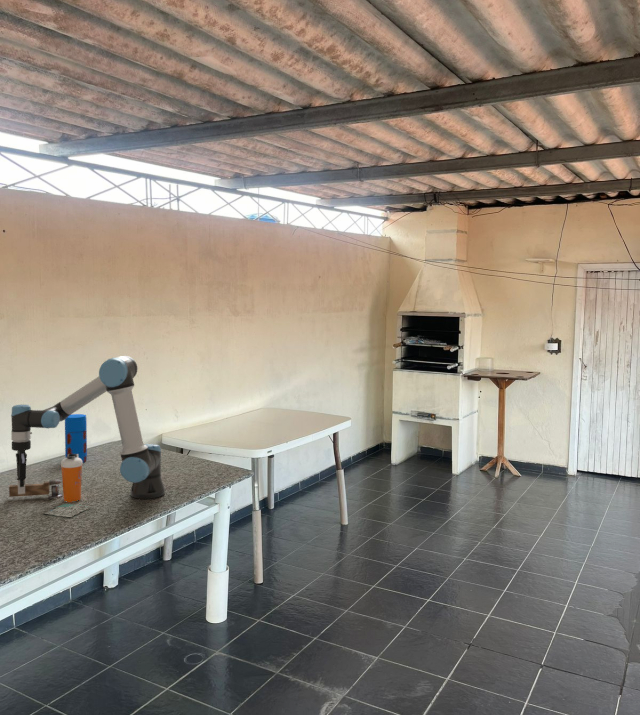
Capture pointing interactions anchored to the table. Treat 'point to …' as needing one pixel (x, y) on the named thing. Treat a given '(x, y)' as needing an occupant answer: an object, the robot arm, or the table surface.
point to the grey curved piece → (55, 492)
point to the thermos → (76, 436)
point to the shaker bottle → (71, 477)
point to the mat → (66, 505)
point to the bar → (33, 488)
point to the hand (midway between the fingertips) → (21, 493)
